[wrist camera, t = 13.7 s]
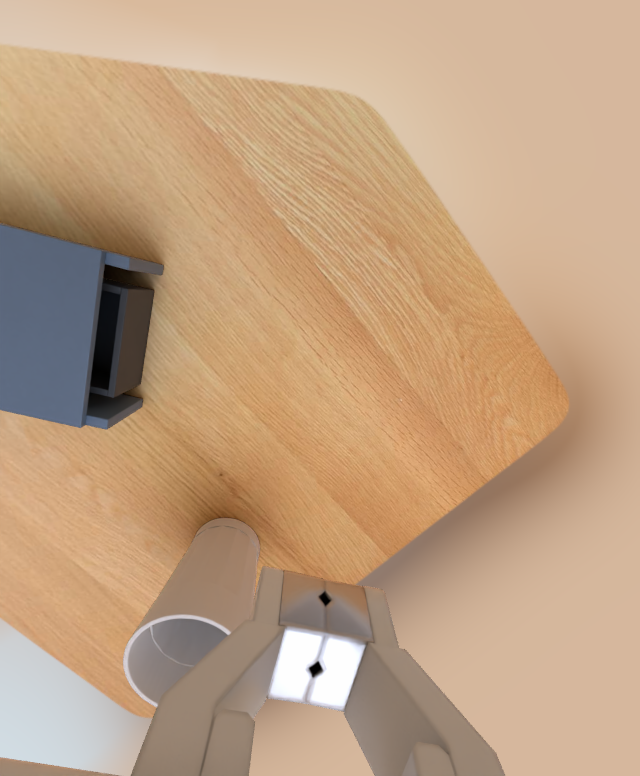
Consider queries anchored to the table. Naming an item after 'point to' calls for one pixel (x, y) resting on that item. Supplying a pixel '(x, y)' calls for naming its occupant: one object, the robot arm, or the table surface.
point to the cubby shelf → (55, 328)
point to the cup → (194, 607)
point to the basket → (120, 337)
